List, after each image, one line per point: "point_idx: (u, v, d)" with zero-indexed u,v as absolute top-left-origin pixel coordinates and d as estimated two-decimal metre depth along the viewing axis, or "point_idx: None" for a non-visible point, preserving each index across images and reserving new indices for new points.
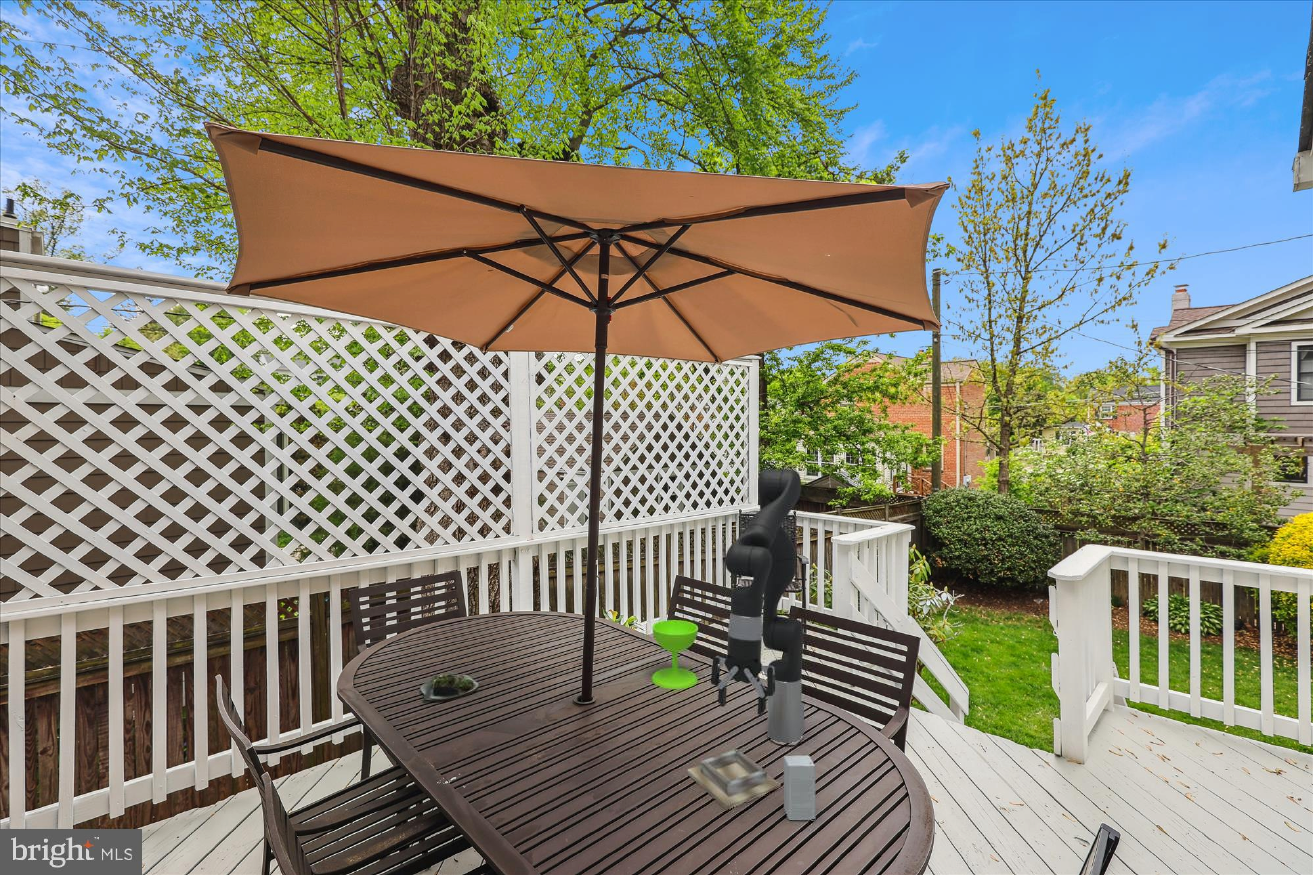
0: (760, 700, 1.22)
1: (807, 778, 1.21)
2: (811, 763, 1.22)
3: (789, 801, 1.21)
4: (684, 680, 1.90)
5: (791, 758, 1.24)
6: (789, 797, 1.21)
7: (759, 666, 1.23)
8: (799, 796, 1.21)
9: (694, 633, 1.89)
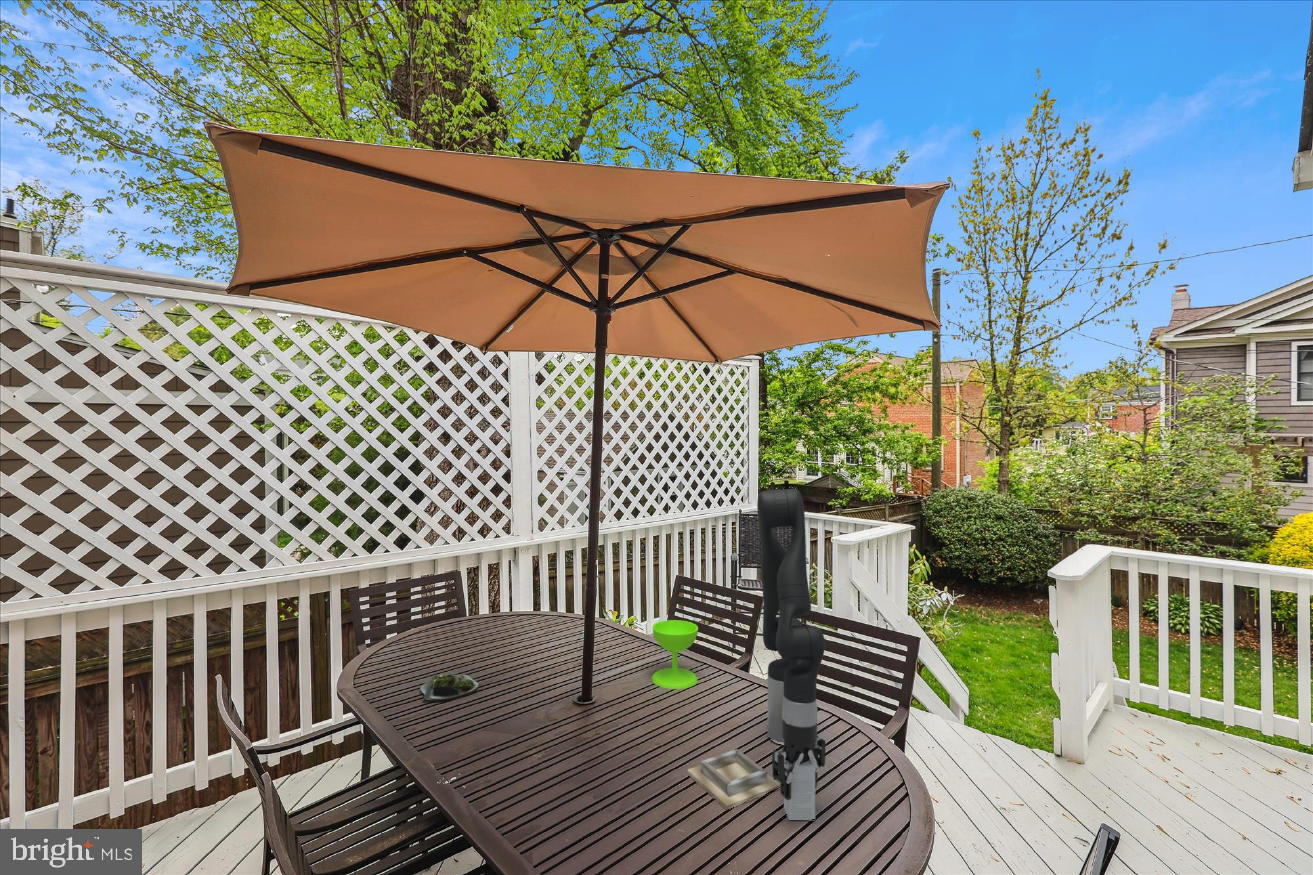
0: (815, 775, 1.24)
1: (807, 778, 1.21)
2: (811, 763, 1.22)
3: (789, 801, 1.21)
4: (684, 680, 1.90)
5: None
6: None
7: None
8: (799, 796, 1.21)
9: (694, 633, 1.89)
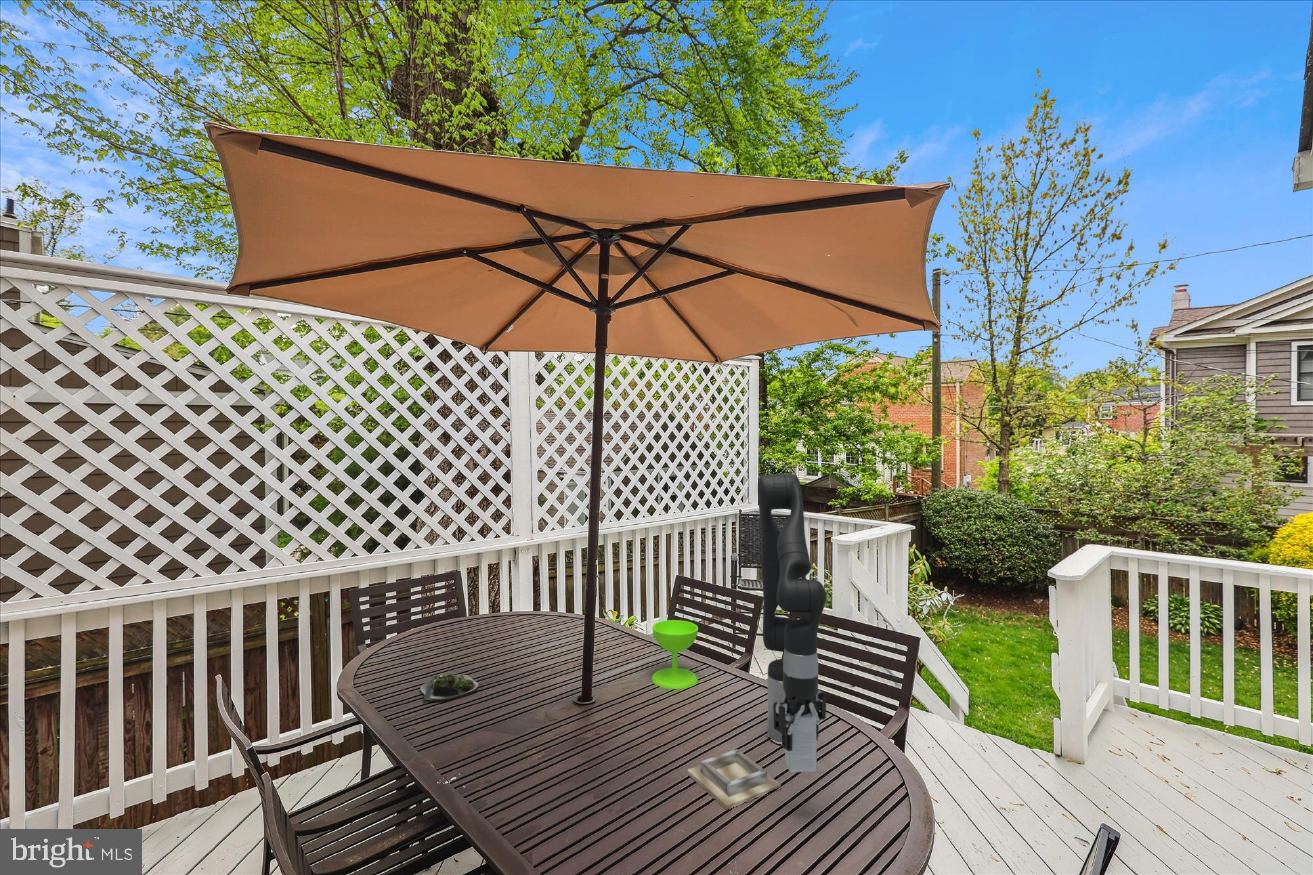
0: (816, 727, 1.24)
1: (808, 730, 1.21)
2: (812, 715, 1.22)
3: (790, 753, 1.21)
4: (684, 680, 1.90)
5: None
6: None
7: (816, 695, 1.24)
8: (800, 748, 1.21)
9: (694, 633, 1.89)
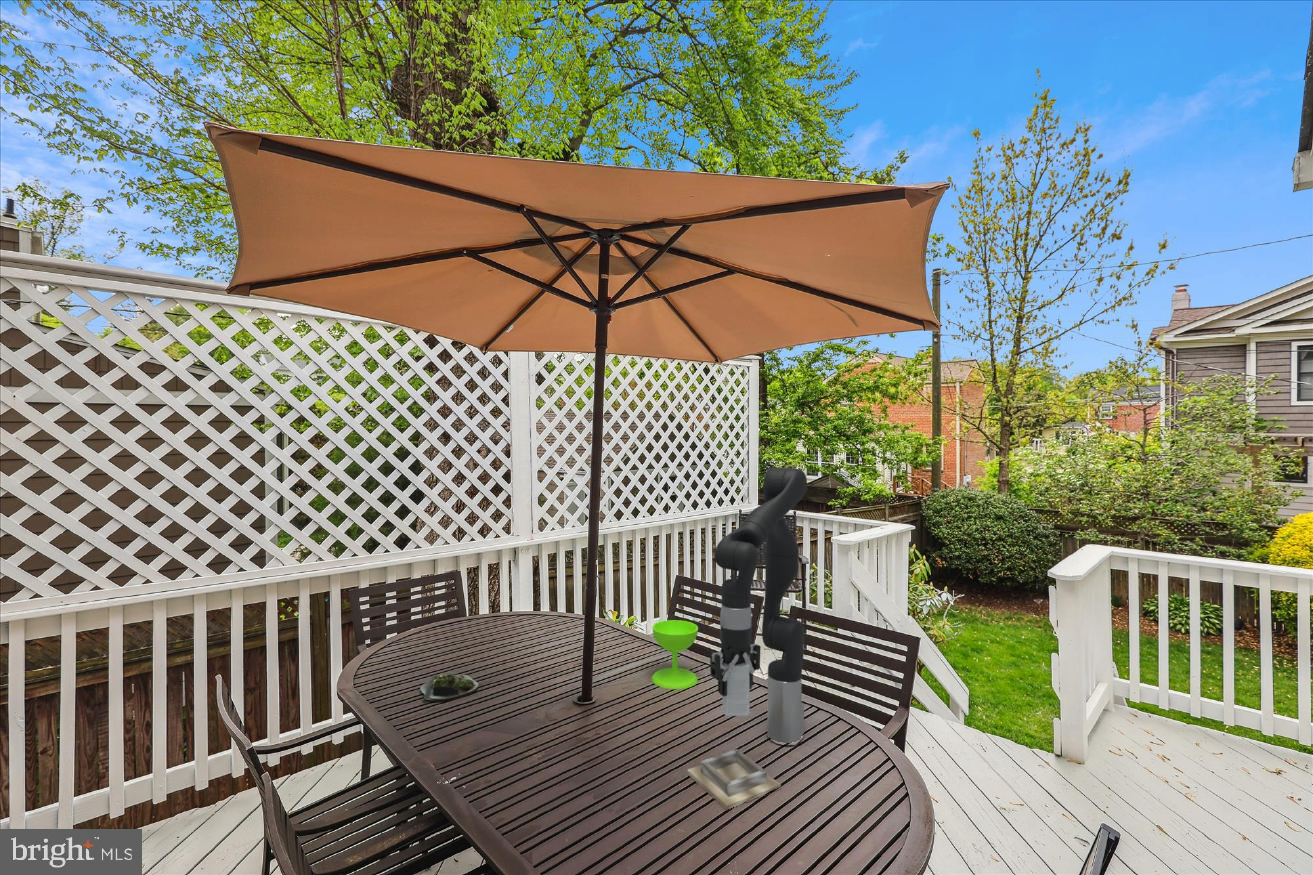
0: (751, 676, 1.36)
1: (742, 678, 1.33)
2: (746, 664, 1.34)
3: (725, 698, 1.33)
4: (684, 680, 1.90)
5: None
6: None
7: (750, 647, 1.36)
8: (735, 693, 1.33)
9: (694, 633, 1.89)
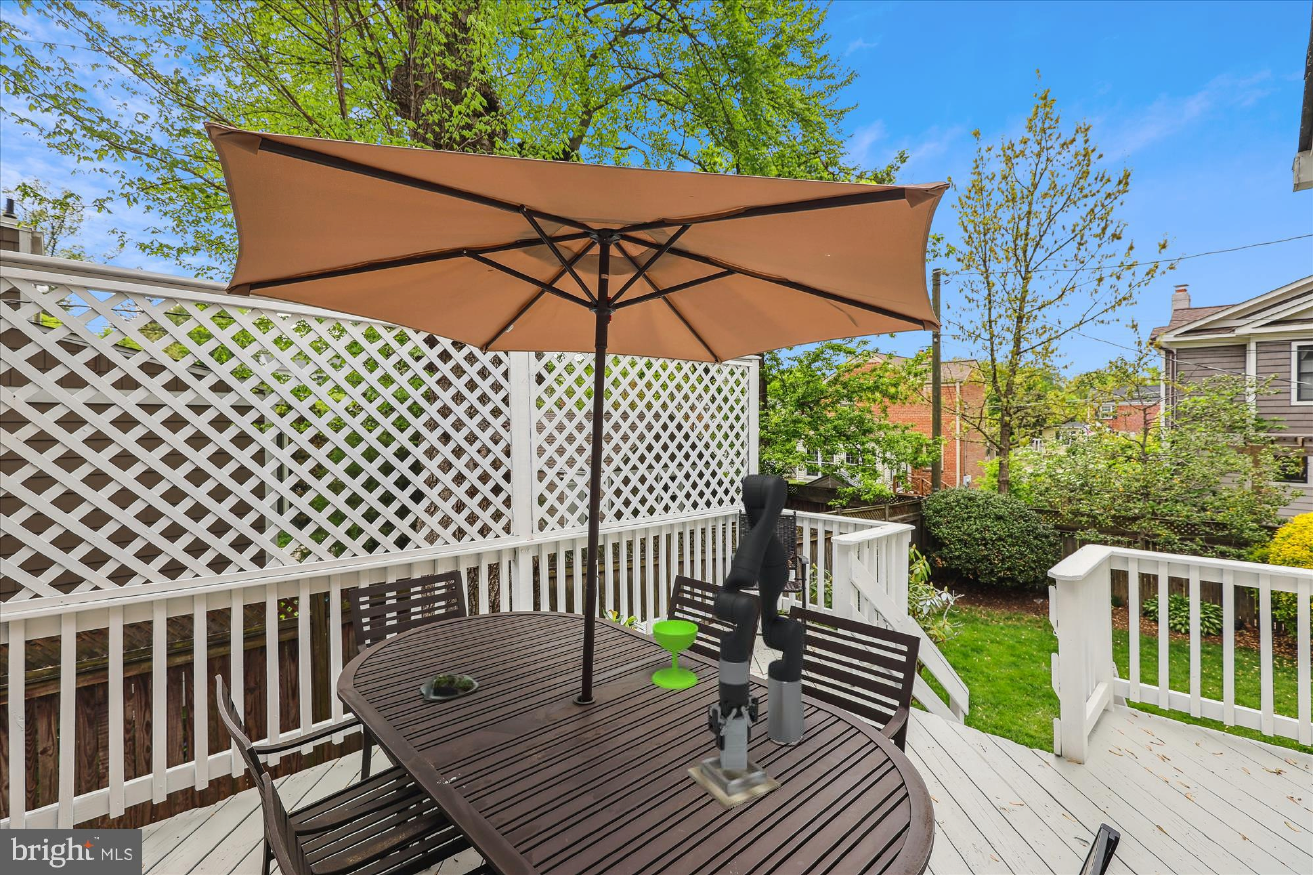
0: (749, 729, 1.36)
1: (740, 732, 1.33)
2: (744, 718, 1.34)
3: (723, 752, 1.33)
4: (684, 680, 1.90)
5: None
6: None
7: (748, 699, 1.36)
8: (732, 747, 1.33)
9: (694, 633, 1.89)
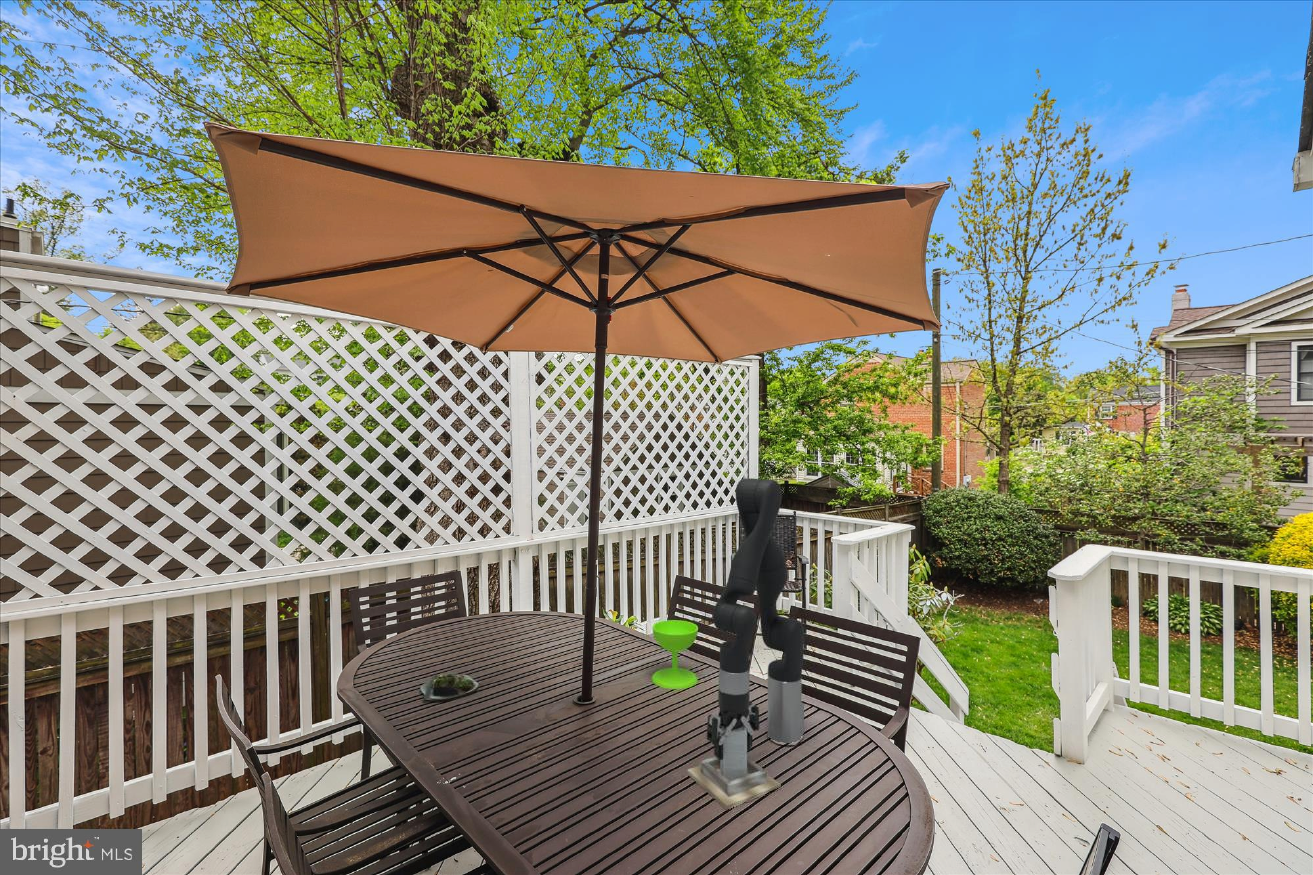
0: (750, 737, 1.36)
1: (740, 743, 1.33)
2: (744, 729, 1.34)
3: (723, 763, 1.33)
4: (684, 680, 1.90)
5: None
6: (723, 760, 1.33)
7: (748, 709, 1.36)
8: (732, 759, 1.33)
9: (694, 633, 1.89)
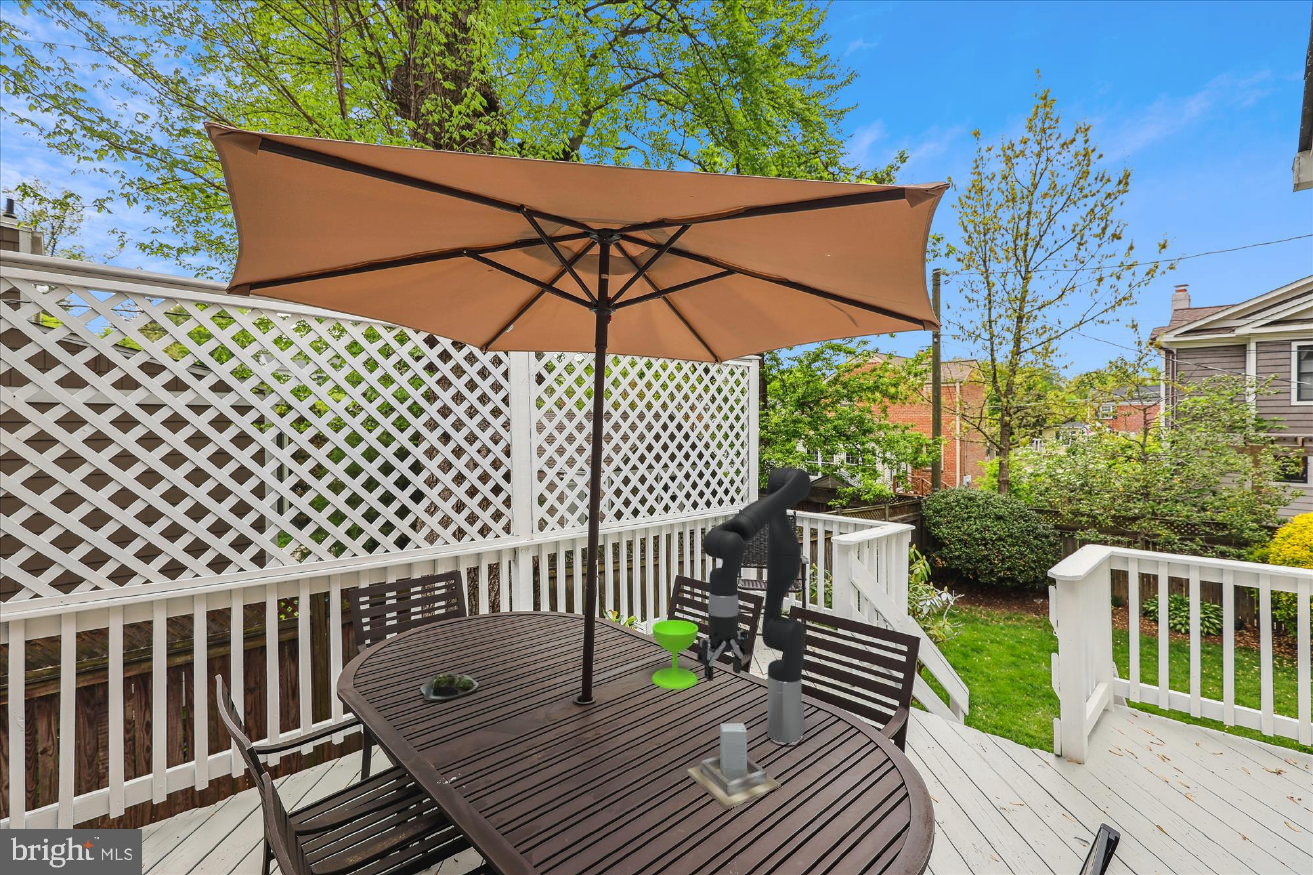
0: (739, 661, 1.40)
1: (740, 743, 1.33)
2: (744, 729, 1.34)
3: (723, 763, 1.33)
4: (684, 680, 1.90)
5: (726, 725, 1.36)
6: (723, 760, 1.33)
7: (737, 633, 1.40)
8: (732, 759, 1.33)
9: (694, 633, 1.89)
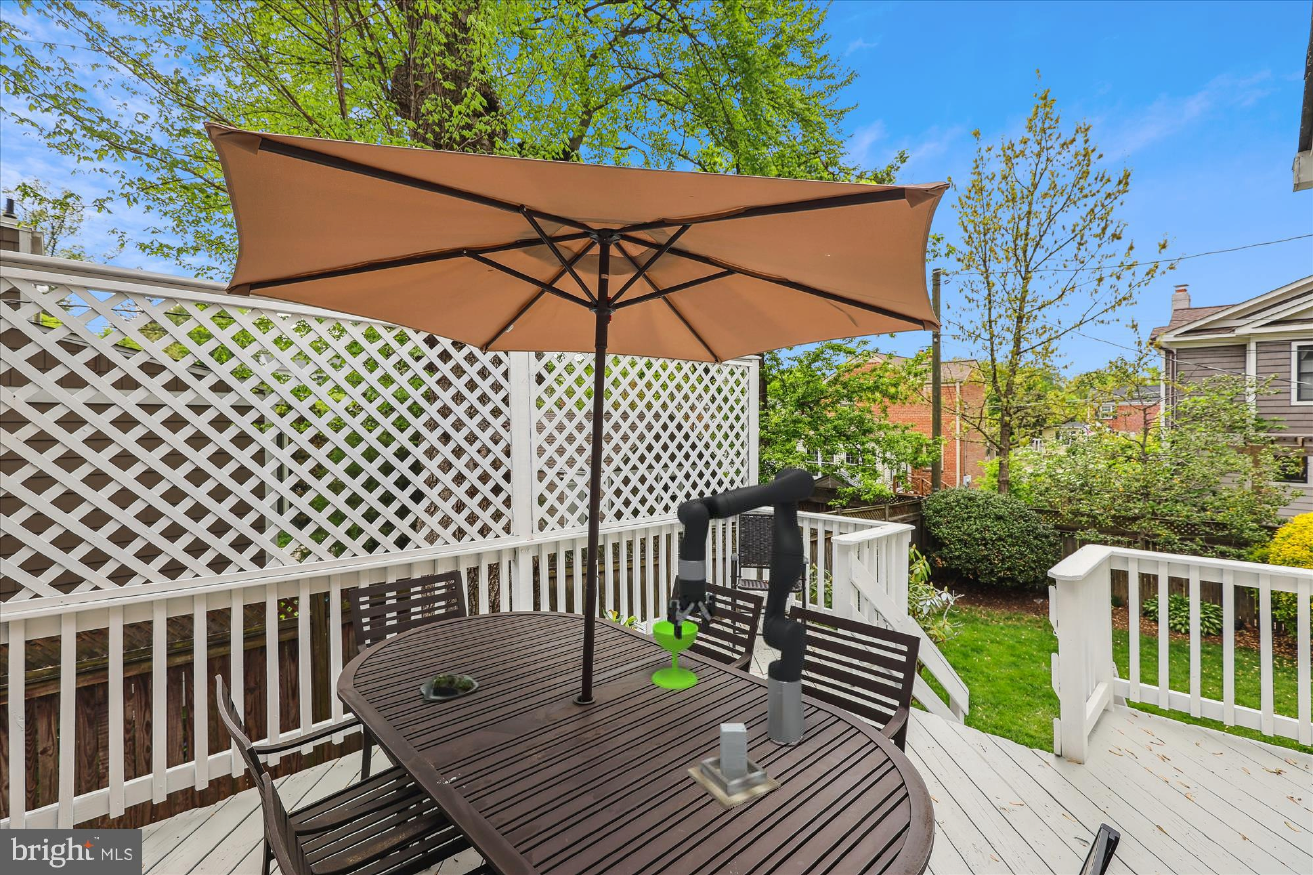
0: (707, 623, 1.51)
1: (740, 743, 1.33)
2: (744, 729, 1.34)
3: (723, 763, 1.33)
4: (684, 680, 1.90)
5: (726, 725, 1.36)
6: (723, 760, 1.33)
7: (705, 597, 1.51)
8: (732, 759, 1.33)
9: (694, 633, 1.89)
